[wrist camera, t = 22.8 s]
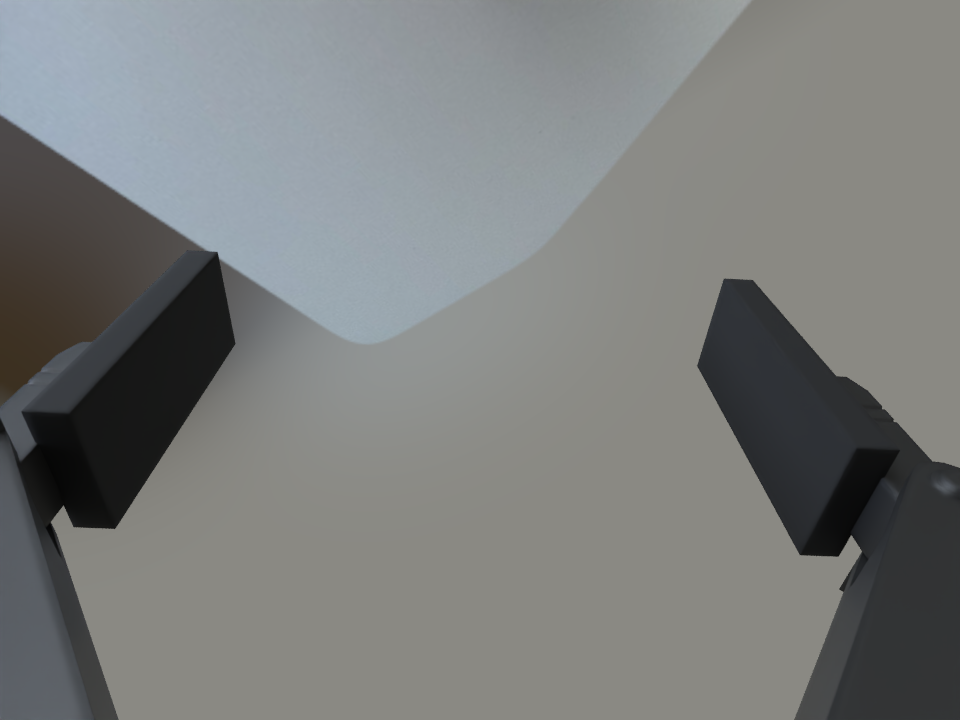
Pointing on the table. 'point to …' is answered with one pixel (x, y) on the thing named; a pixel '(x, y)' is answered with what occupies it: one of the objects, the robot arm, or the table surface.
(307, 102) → the table surface
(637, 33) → the table surface
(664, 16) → the table surface
